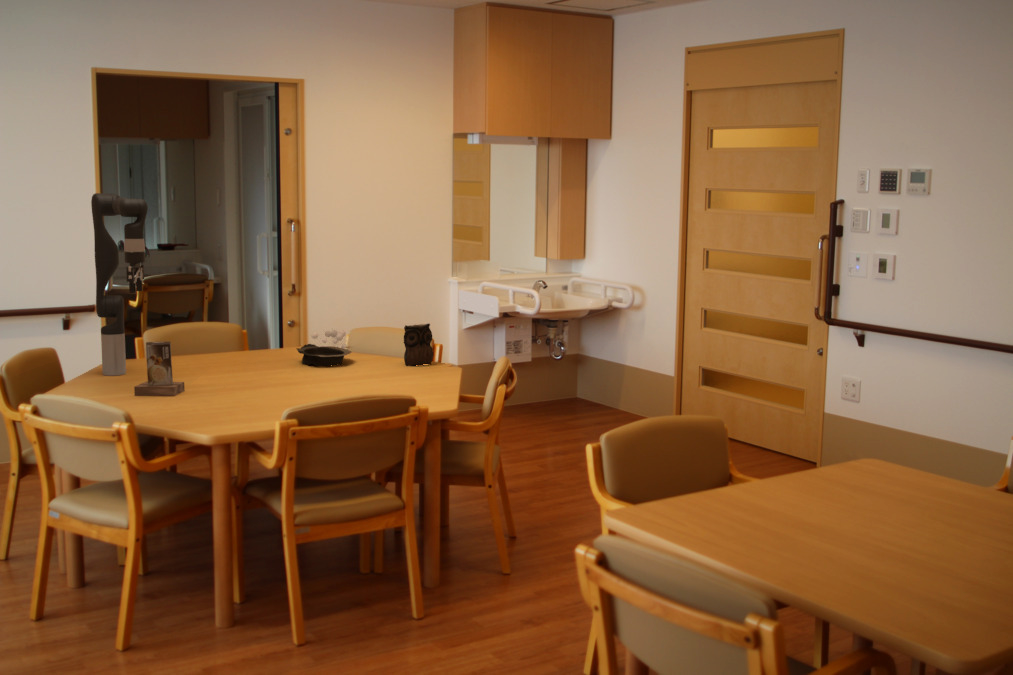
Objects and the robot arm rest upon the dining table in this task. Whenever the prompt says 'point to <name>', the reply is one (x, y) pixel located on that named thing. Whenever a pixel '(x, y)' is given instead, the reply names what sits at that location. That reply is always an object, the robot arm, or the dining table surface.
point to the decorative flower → (338, 336)
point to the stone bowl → (322, 355)
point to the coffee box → (159, 363)
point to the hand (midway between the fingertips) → (136, 292)
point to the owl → (418, 345)
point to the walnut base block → (159, 389)
